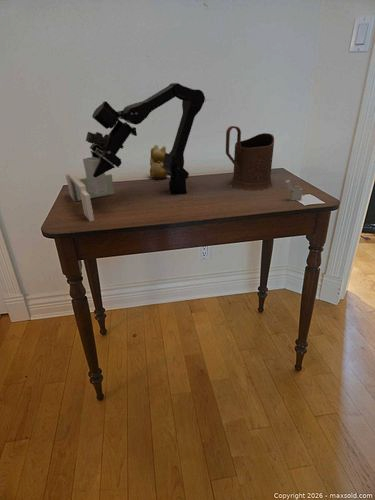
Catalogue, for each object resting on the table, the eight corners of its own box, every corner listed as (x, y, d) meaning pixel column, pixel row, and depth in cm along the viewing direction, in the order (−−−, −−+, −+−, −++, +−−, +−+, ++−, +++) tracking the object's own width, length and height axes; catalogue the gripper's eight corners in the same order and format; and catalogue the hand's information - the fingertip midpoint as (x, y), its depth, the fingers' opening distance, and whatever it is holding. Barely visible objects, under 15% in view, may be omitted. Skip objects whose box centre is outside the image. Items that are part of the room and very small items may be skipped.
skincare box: (108, 192, 112) (102, 158, 107) (98, 195, 110) (92, 161, 104) (98, 188, 116) (92, 156, 110) (88, 192, 113) (82, 158, 107)
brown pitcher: (282, 185, 134) (289, 123, 122) (240, 196, 122) (244, 129, 110) (251, 176, 148) (255, 119, 136) (211, 185, 136) (212, 124, 124)
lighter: (299, 198, 119) (302, 177, 115) (301, 199, 117) (304, 179, 113) (281, 200, 118) (284, 179, 114) (284, 201, 116) (286, 180, 112)
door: (75, 201, 121) (71, 180, 117) (74, 199, 123) (69, 178, 119) (114, 194, 128) (111, 173, 124) (112, 192, 130) (109, 172, 126)
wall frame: (69, 195, 129) (64, 170, 124) (74, 195, 129) (68, 169, 124) (89, 221, 104) (83, 190, 99) (94, 220, 105) (89, 189, 100)
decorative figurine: (171, 176, 150) (170, 144, 143) (163, 181, 143) (161, 148, 136) (154, 175, 153) (152, 143, 146) (145, 179, 147) (142, 146, 140)
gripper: (90, 119, 110) (65, 155, 111) (106, 124, 96) (77, 166, 97) (115, 140, 117) (91, 173, 118) (133, 147, 103) (106, 186, 104)
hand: (91, 174), depth 109 cm, fingers closed on skincare box, 7 cm apart
